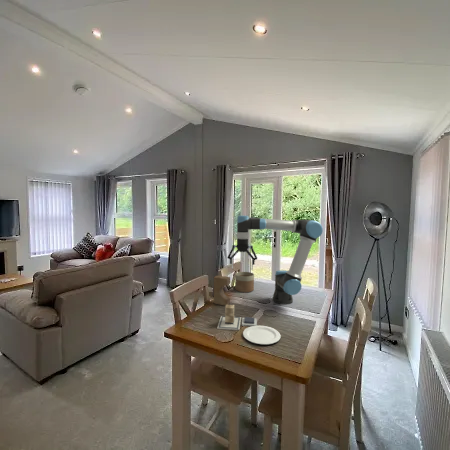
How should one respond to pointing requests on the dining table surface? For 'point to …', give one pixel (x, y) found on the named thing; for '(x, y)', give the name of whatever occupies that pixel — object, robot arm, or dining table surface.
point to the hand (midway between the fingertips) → (242, 269)
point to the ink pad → (249, 321)
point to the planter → (244, 281)
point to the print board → (229, 326)
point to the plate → (261, 335)
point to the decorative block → (221, 290)
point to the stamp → (229, 314)
